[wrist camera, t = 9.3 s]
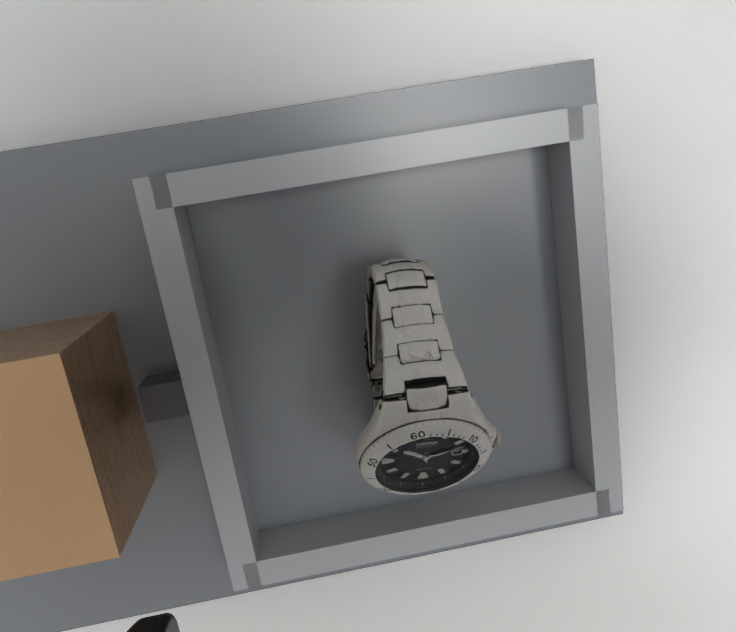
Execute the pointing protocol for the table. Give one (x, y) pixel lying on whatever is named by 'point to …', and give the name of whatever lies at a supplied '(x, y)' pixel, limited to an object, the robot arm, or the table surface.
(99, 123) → the table surface
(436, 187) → the grey tray
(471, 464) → the wristwatch
